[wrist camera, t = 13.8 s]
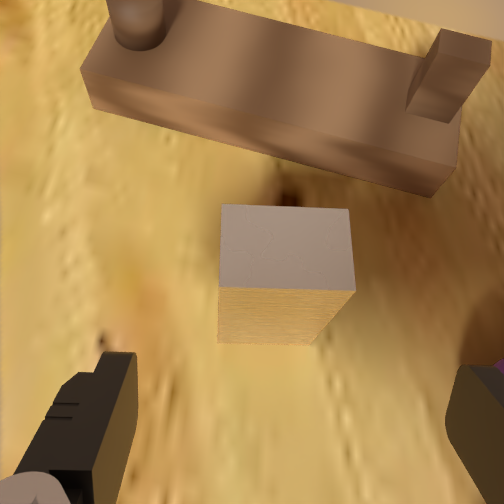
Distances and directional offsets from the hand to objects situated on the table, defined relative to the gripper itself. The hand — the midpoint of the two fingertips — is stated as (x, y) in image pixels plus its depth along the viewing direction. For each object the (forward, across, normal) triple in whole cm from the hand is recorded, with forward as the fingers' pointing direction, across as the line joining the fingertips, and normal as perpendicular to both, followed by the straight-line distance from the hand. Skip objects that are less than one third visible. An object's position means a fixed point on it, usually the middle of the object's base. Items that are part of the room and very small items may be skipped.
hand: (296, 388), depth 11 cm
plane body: (+20, -1, -6) cm, 20 cm away
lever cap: (+10, 0, +4) cm, 11 cm away
